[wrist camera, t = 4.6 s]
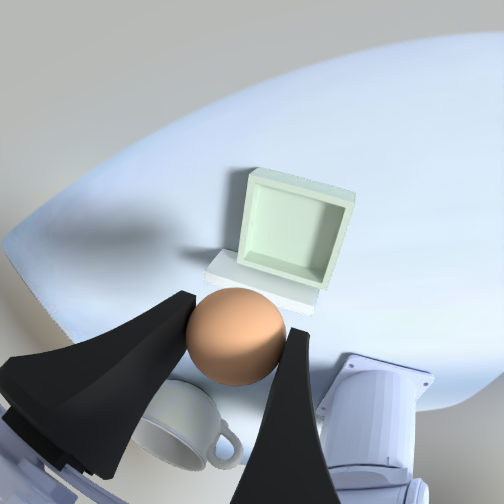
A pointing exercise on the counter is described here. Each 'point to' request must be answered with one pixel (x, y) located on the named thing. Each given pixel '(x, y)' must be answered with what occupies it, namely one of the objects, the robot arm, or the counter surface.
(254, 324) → the ball
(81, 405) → the robot arm
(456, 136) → the counter surface
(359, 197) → the counter surface
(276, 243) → the tray
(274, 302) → the wall
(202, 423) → the teacup
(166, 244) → the counter surface
